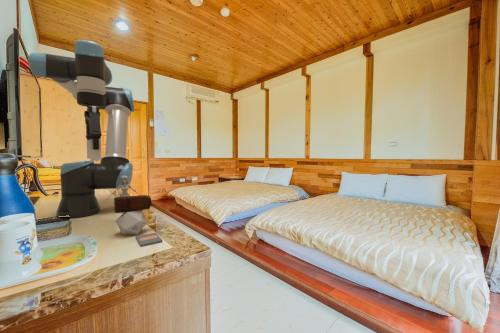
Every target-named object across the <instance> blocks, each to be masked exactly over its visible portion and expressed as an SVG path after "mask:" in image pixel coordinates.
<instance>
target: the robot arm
mask: <svg viewBox="0 0 500 333" xmlns="http://www.w3.org/2000/svg"><path fill="white" fill-rule="evenodd" d="M73 53H74V57H73V56H72V57H71V56H64V55H57V54H51V53H45V52H31V53H29V55H28V58H27V59H28V67H29V70H30V72H31V73H32V74H33V75H34V76H36V77H40V78H44V79H46V78H47V79H51V80H52V81H54V82H55V83H56V84H58V85H59V86H61V87H62V88H63V89H65V90H66V91H68V92H69V93H71V96H72V97H73V98H74V99H75V100H76V103H77V105H79V106H81V107H86V110H84V111H83V112H84V113H83V116H84V121H85V122H84V123H85V127H86V128H85V130H86V131H85V139H86V157H87V159H89V160H84V161H83V160H82V161H74V162H67V163H63V164H61V166H60V173H59V176H60V193H61V199H60V201H59V204H58V206H57V210H56V217H57V216H66V215H69V216H70V218H69V219H74V218H75V219H76V218H84V217H87V216H92V215H95V214H99V213H100V211H101V206H100V204H99V202H98V199H97V196H96V192H95V191H96V190H109V189H111V190H112V189H115V190H117V188H118V187H119V185H120V184H121V176H128V180H129V181H128V184H129V185H130V186H131V183H132V178H133V170H134V168H133V166H134V165H133V163H131V162H130V160H129V159H128V158H127V144H128V143H127V141H128V138H127V137H128V119H129V118H128V117H130V116H131V114H132V113H133V112H135V104H134V98H133V92H132V90H131V89H129V88H123V87H114V86H113V87H112V86H109V85H110V84H111V83H112V81H113V73H112V71H111V69H110V67H108V66H107V63H106V62H105V52H104V48H103V46H101V44H98V43H97V42H94V41H91V40H87V39H79V40H76V41H75V42H74V50H73ZM100 110H103V111H105V113H106V114H107V123H106V140H105V152H104V156H102V139H101V138H102V135H103V134H102V127H101V112H100ZM97 161H100V162H98V163H95V162H97Z"/></svg>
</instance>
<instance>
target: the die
mask: <svg viewBox="0 0 500 333" xmlns="http://www.w3.org/2000/svg"><path fill="white" fill-rule="evenodd" d="M143 211H144V210H138V211H131V212H124V213H123V214H122V213H121V215H120V216H119V217H118V218H117V219H116V220H115V223H116V225H117V227H118V229H119V230H120V232H121V235H139V234H140V233H141V231H142V230H143V229H144V228H145V226H146V225H147V224H148V220H147V218H146V215H145V214H144V212H143Z"/></svg>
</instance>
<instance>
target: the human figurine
mask: <svg viewBox="0 0 500 333" xmlns="http://www.w3.org/2000/svg"><path fill="white" fill-rule="evenodd" d="M128 181H129V180H128V176H121V184H120V185H119V187H118V188H117V189H115V190H113V191H112V193H111V194H110V195H108V196H107V197H106V200H109V198H110V197H111V196H113V195H115V193H116V192H117V191H118V190H121V192H122V193H120V194H119V197H124V196H131V195H130V193H128V191H129V189H131V190H132V191H133V192H135V193H136V194H137V195H138V196H139V195H141V194H140V193H139V192H138V191H137V190H136V189H134V188H133V187H132V186H131V184H130V185H129V184H128ZM123 213H124V212H122V213H121V215H122V214H123Z"/></svg>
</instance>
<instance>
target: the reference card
mask: <svg viewBox="0 0 500 333" xmlns="http://www.w3.org/2000/svg"><path fill="white" fill-rule="evenodd" d="M135 240H136V241H137V243H138V245H139V246H140V248H142V247H146V246H151V245H155V244H159V243H160V244H161V243H163V239H162V238H161V237H160V236H159V234H158V233H157V232H152V233H151V232H150V233H147V234H141V235H136V236H135Z"/></svg>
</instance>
